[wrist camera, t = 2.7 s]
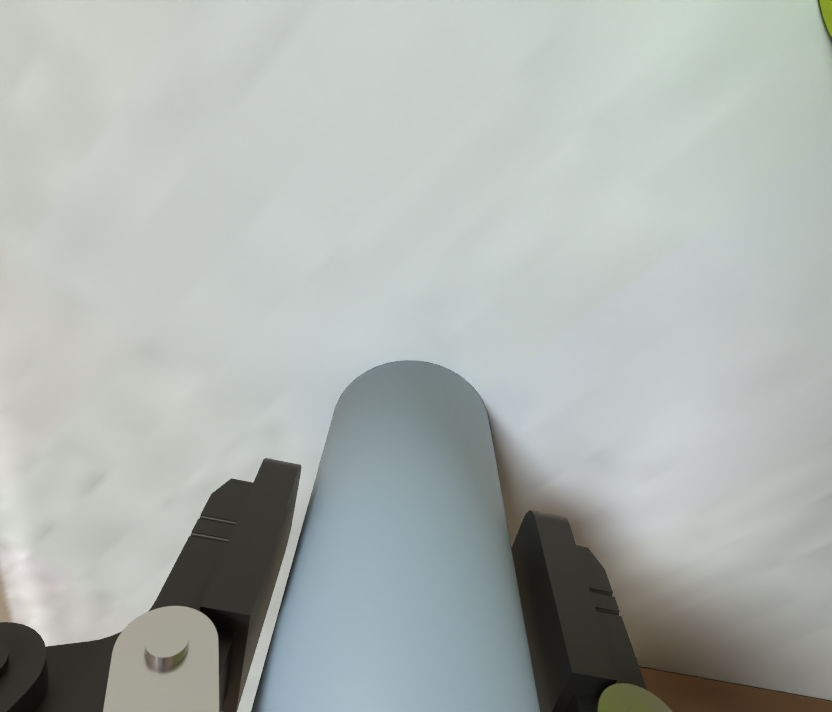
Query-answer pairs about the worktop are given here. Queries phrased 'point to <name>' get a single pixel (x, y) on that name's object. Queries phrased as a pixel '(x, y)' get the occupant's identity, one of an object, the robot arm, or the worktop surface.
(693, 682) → the socket block
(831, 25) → the soap dispenser
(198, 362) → the worktop surface
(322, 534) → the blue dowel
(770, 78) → the worktop surface
